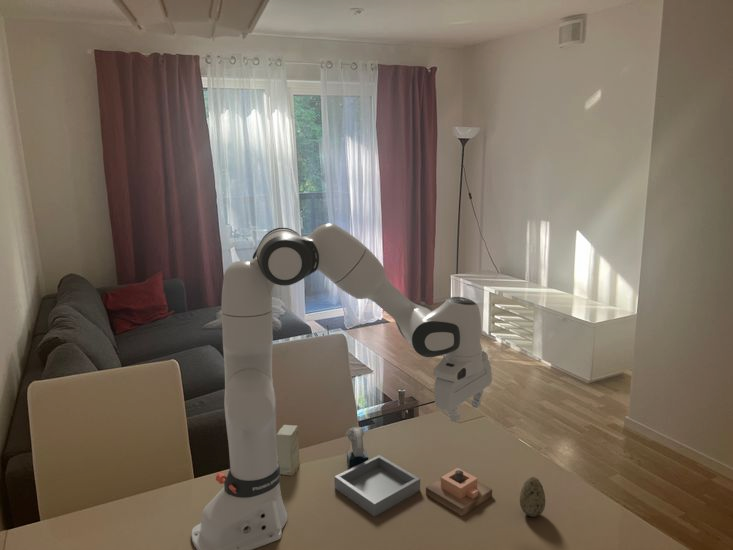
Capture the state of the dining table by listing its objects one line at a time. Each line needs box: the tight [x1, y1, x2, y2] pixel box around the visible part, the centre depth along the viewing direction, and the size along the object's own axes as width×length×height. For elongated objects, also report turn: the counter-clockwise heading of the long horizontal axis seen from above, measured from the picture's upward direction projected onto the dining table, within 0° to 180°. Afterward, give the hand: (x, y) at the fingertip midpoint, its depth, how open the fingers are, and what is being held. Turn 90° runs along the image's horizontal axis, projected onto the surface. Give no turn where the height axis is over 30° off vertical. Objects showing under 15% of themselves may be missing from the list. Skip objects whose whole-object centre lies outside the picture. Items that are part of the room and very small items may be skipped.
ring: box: [440, 467, 478, 499], centre depth 138 cm, size 7×9×3 cm
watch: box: [345, 426, 369, 470], centre depth 154 cm, size 6×8×11 cm
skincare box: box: [276, 424, 301, 476], centre depth 152 cm, size 6×4×12 cm
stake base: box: [425, 470, 493, 517], centre depth 139 cm, size 12×12×6 cm
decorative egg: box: [519, 476, 546, 518], centre depth 131 cm, size 6×6×10 cm
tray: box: [334, 454, 421, 518], centre depth 142 cm, size 16×16×4 cm
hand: (465, 413), depth 136 cm, fingers open, 8 cm apart
